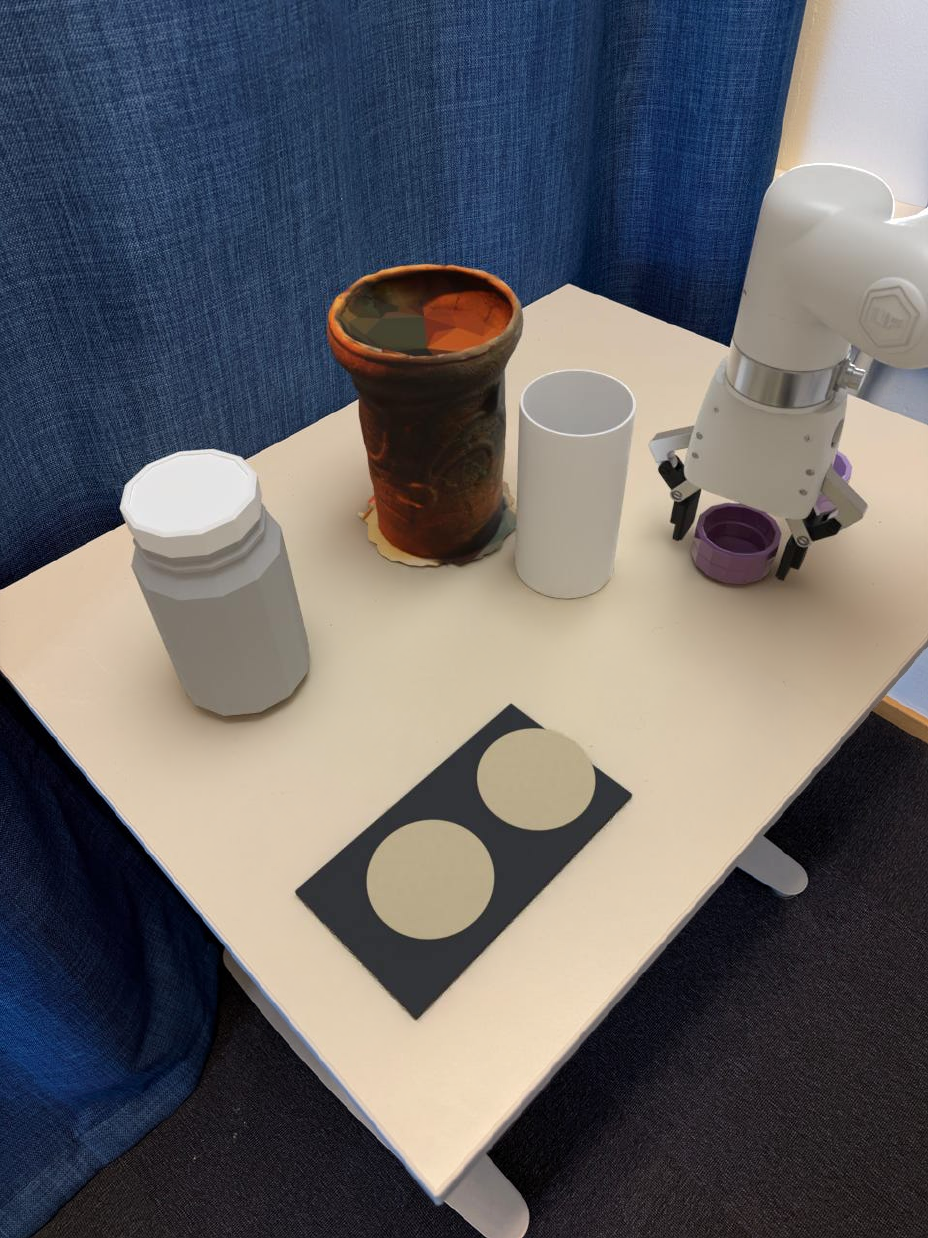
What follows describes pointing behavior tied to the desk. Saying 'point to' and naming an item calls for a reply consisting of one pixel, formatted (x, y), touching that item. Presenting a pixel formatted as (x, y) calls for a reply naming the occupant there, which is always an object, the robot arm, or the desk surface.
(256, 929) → the desk surface
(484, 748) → the mat
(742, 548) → the plum dish
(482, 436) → the vessel
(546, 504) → the cup
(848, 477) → the lilac dish
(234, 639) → the jar
